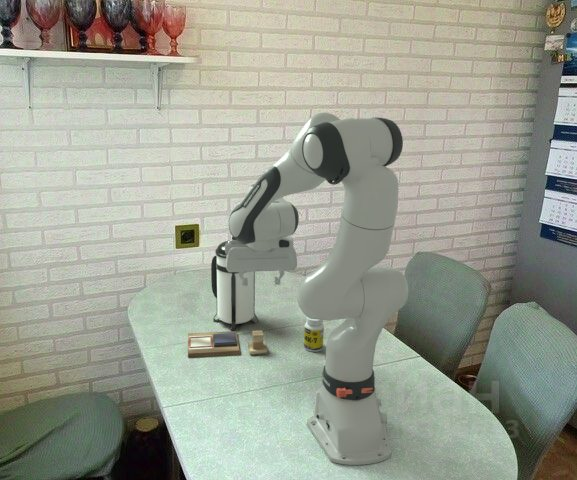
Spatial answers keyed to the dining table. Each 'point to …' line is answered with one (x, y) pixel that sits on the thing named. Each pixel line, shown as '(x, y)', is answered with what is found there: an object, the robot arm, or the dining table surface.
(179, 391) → the dining table surface
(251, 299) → the coffee press
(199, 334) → the station board
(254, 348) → the stamp
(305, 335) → the supplement bottle
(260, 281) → the dining table surface
